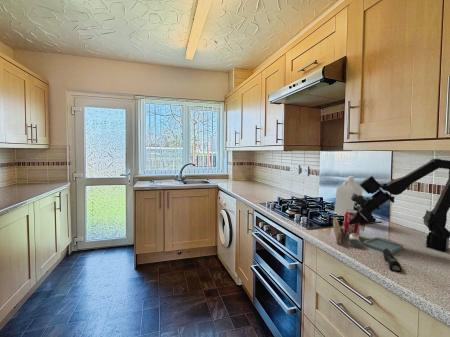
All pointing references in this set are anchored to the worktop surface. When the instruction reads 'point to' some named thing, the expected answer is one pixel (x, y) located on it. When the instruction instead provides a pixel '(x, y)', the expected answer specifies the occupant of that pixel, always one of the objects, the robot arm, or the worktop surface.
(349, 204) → the milk
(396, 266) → the electric trimmer
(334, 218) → the clip rack
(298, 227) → the worktop surface
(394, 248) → the tray
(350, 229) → the soda can
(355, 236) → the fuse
